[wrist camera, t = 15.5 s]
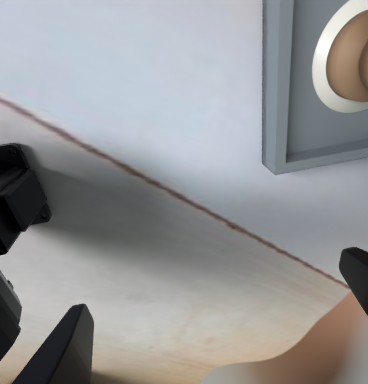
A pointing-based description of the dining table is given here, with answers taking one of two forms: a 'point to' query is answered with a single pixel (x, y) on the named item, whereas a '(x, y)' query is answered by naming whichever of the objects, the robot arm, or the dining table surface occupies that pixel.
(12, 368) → the dining table surface
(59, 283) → the dining table surface
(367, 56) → the bead column
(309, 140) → the square tray
